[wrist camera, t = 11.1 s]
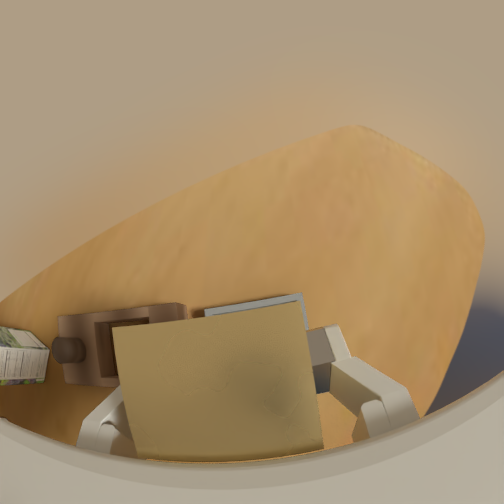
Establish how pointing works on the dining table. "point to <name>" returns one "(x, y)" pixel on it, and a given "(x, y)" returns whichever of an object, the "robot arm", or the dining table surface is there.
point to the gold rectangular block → (220, 386)
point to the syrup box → (21, 357)
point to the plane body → (101, 341)
